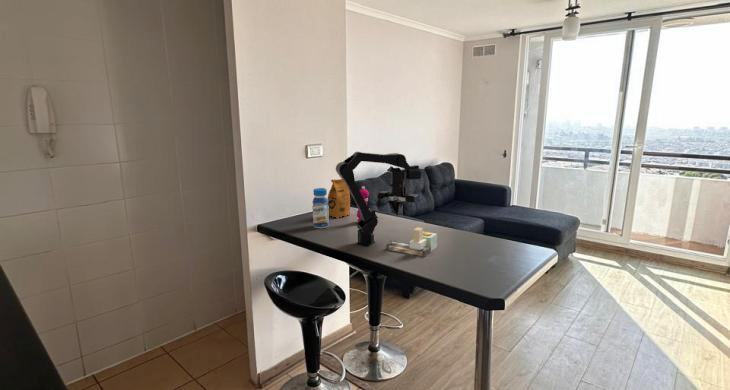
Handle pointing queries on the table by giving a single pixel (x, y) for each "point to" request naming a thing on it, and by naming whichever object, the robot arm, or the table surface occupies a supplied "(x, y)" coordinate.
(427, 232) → the button
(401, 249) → the rail
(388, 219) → the table surface
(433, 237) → the button housing
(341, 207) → the coffee package
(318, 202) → the beverage bottle
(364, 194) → the pepper mill
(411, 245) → the carriage
